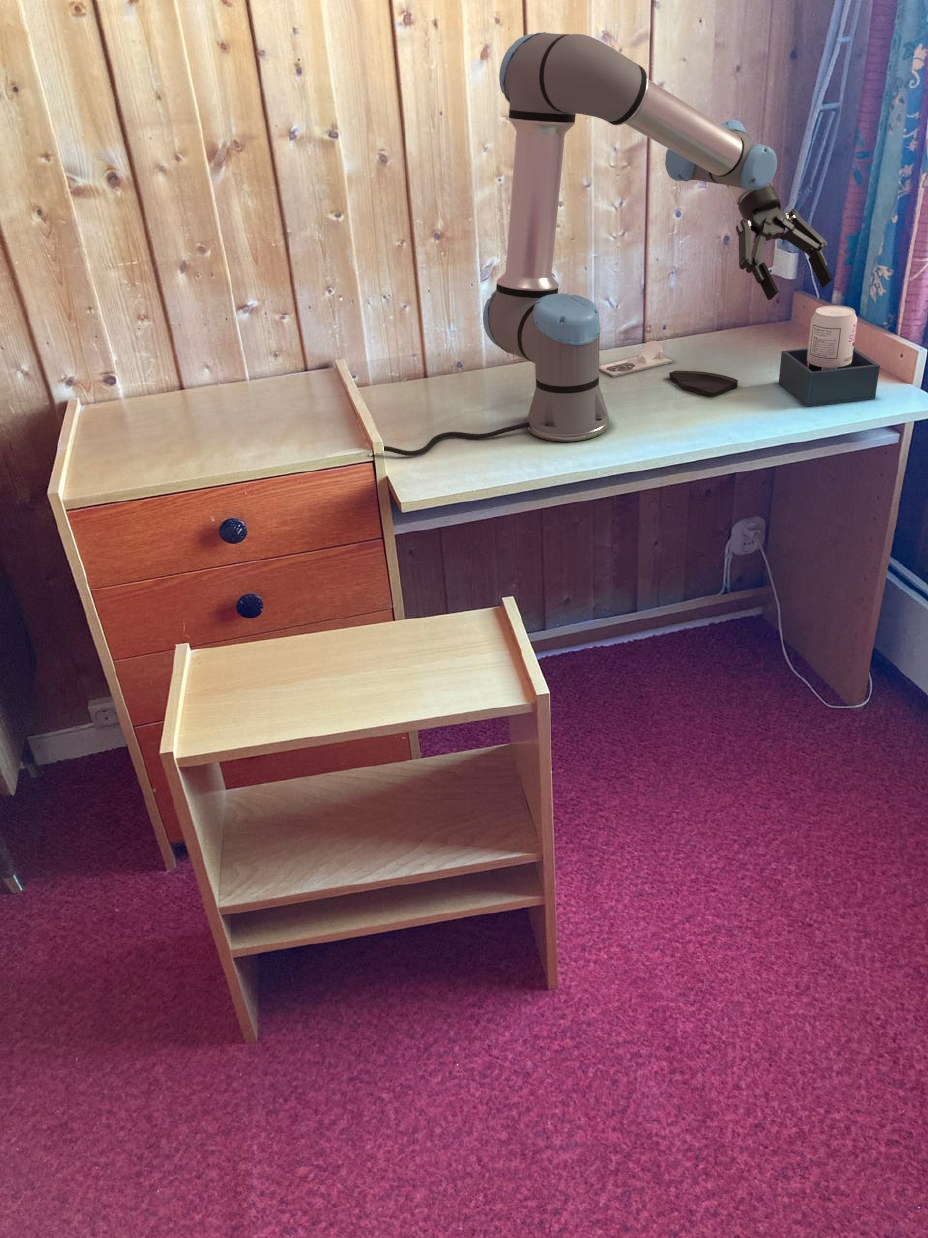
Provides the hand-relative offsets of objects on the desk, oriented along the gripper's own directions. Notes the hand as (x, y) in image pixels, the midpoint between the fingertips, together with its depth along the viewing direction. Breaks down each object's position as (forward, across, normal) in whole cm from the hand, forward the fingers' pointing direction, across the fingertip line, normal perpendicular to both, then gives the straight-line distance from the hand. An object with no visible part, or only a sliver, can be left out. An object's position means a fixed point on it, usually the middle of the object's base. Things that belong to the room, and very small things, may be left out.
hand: (800, 289), depth 201 cm
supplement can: (+19, 0, -6) cm, 20 cm away
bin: (+19, 0, -6) cm, 20 cm away
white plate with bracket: (-6, +20, -31) cm, 37 cm away
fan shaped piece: (+8, +16, -18) cm, 25 cm away
